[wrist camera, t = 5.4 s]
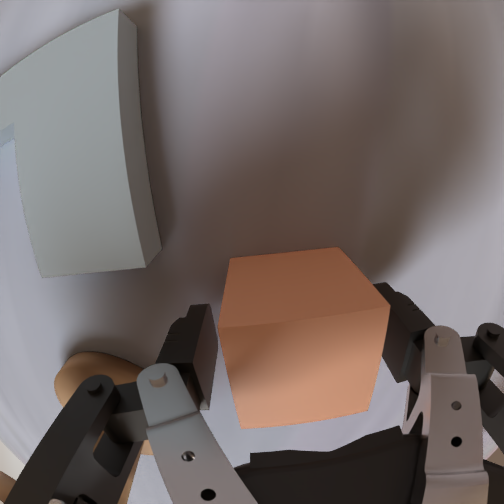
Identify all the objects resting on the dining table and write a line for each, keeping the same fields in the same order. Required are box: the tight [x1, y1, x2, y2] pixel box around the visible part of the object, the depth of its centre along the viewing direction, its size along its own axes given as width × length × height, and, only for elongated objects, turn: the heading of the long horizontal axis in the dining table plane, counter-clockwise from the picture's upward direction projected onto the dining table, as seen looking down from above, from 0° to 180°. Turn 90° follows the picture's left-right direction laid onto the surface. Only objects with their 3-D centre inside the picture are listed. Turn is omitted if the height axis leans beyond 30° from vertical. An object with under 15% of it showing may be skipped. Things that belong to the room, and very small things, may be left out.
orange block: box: [218, 247, 390, 429], centre depth 10 cm, size 4×4×5 cm
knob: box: [0, 352, 153, 504], centre depth 9 cm, size 9×9×11 cm
